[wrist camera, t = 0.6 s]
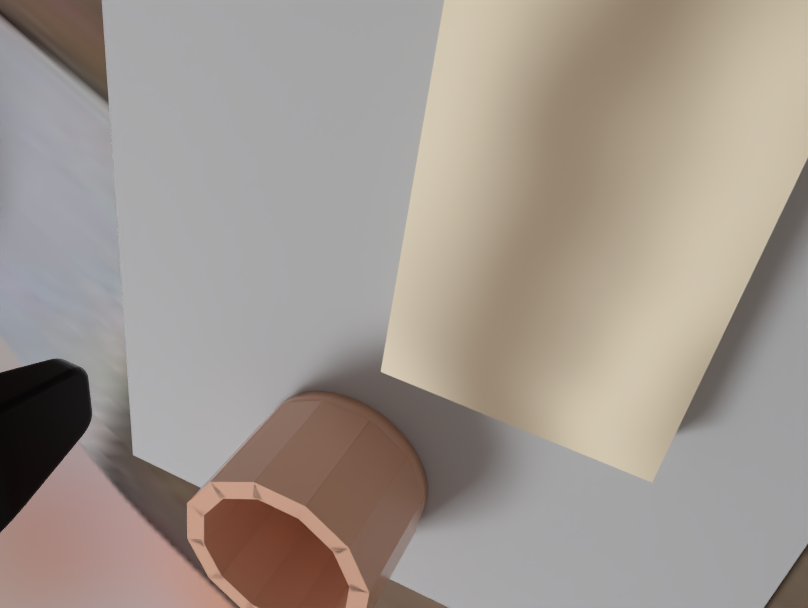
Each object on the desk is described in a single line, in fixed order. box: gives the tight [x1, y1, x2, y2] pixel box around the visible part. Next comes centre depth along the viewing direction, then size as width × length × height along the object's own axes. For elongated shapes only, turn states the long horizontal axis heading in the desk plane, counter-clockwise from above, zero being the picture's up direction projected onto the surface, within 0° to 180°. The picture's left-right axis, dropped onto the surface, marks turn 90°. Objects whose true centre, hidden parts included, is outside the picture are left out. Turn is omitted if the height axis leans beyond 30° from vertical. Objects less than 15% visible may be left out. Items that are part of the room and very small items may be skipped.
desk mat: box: [102, 0, 808, 608], centre depth 22 cm, size 22×23×1 cm
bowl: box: [187, 391, 428, 608], centre depth 24 cm, size 6×6×4 cm
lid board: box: [381, 0, 808, 482], centre depth 17 cm, size 7×12×2 cm, turn 170°
